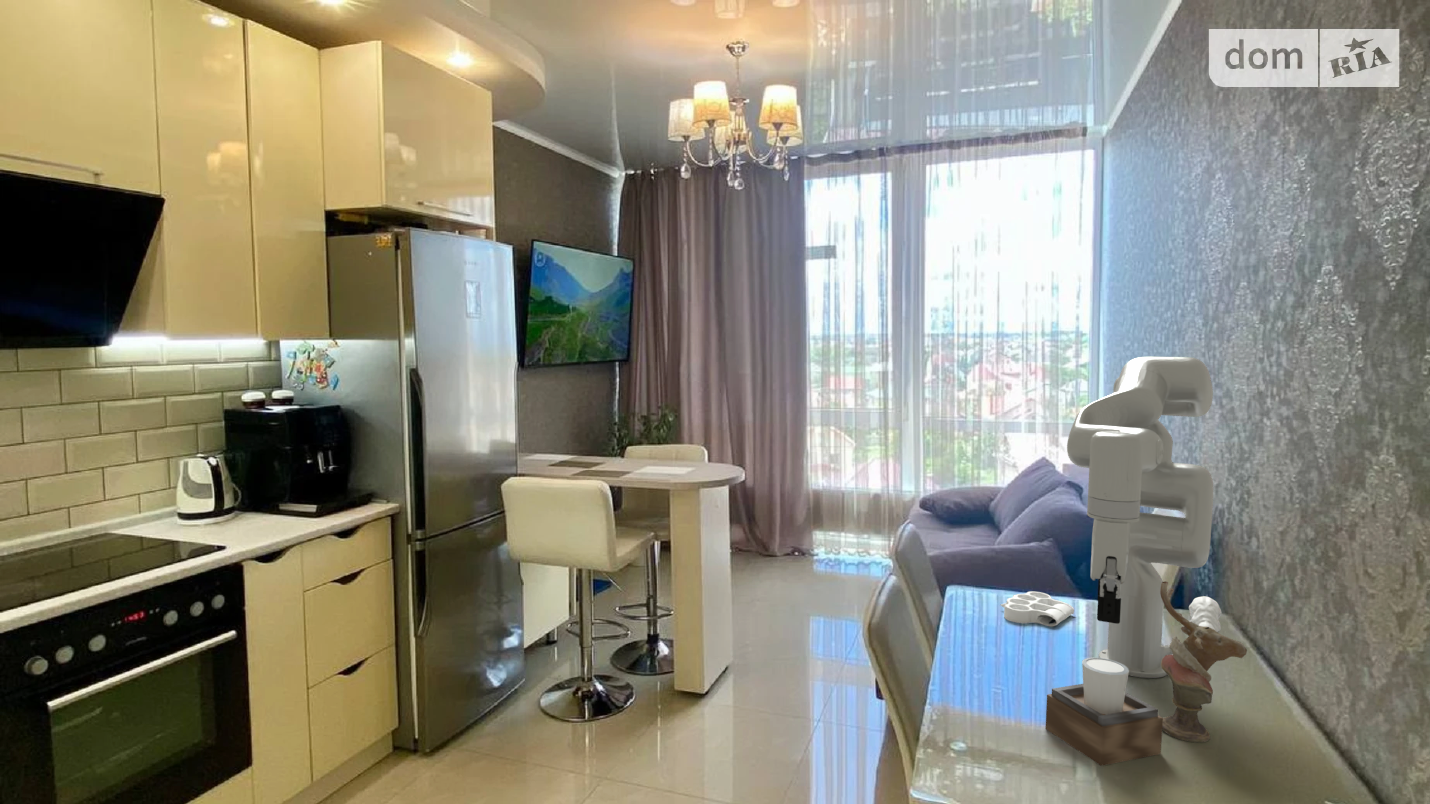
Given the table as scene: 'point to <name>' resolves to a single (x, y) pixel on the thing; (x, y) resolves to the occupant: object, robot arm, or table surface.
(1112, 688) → the white short cylinder
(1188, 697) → the decorative bust
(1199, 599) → the white lumpy piece
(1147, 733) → the display riser
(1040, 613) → the white flat perforated piece
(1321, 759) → the table surface
